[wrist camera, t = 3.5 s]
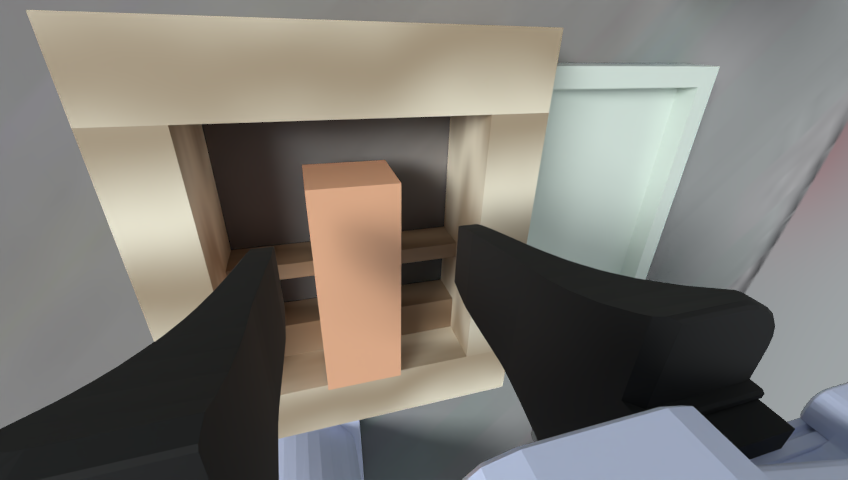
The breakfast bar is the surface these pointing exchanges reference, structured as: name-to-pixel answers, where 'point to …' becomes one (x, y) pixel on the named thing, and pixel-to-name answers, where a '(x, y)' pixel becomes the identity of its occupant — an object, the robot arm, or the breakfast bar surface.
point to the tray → (615, 160)
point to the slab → (356, 267)
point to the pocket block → (303, 101)
